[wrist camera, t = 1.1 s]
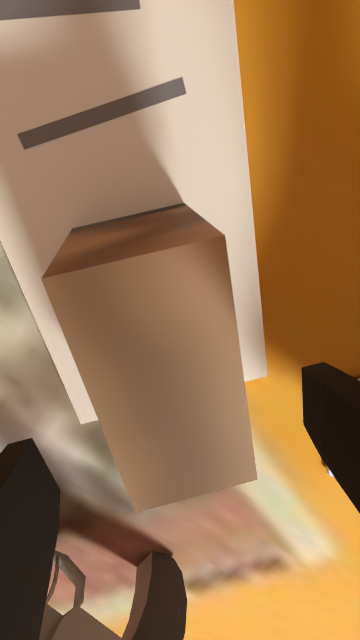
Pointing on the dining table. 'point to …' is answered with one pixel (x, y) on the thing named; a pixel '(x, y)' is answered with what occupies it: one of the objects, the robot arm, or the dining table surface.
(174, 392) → the block
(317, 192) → the dining table surface
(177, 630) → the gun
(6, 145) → the marked board
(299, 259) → the dining table surface
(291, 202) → the dining table surface
